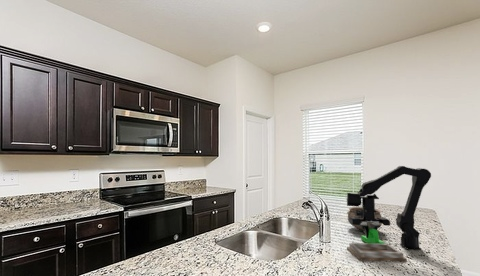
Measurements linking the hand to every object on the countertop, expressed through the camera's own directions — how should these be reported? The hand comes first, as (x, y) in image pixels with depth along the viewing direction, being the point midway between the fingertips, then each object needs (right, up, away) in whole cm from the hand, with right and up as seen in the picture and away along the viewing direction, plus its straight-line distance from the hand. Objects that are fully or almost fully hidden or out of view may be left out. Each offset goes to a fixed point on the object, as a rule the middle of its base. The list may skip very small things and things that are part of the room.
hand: (369, 238), depth 127 cm
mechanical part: (+2, -3, -1) cm, 3 cm away
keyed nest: (-5, -1, -15) cm, 16 cm away
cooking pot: (+9, -5, +22) cm, 25 cm away
